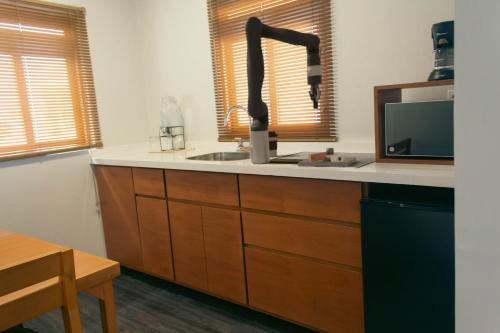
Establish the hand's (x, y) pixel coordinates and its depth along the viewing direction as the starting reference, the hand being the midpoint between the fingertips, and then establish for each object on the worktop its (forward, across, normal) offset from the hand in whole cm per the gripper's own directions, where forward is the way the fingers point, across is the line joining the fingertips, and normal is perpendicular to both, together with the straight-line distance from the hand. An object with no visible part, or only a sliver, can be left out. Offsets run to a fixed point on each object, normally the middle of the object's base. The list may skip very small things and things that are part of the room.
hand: (315, 108), depth 208 cm
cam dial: (+24, +17, +9) cm, 31 cm away
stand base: (+27, +14, +10) cm, 32 cm away
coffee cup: (+27, -12, -34) cm, 45 cm away
